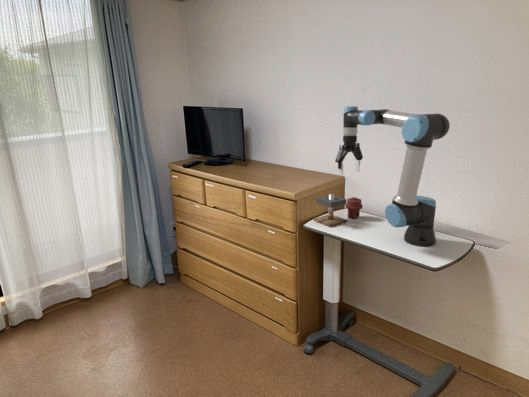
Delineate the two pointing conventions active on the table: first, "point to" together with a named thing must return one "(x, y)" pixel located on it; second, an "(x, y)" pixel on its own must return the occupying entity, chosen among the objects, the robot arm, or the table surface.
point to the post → (330, 210)
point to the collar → (331, 201)
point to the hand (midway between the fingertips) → (348, 173)
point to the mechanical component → (353, 207)
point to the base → (330, 223)
